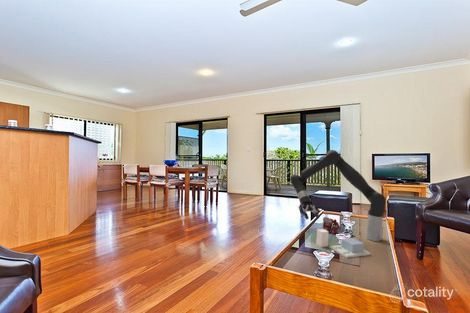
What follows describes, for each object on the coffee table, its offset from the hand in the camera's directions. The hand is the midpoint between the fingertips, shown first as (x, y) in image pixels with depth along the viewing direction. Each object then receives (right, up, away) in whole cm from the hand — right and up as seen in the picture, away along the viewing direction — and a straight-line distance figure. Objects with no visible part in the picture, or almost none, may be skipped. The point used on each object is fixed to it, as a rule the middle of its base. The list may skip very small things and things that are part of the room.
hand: (312, 218), depth 170 cm
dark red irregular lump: (+18, -15, +16) cm, 28 cm away
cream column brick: (+3, -15, -10) cm, 18 cm away
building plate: (+17, -16, -17) cm, 29 cm away
